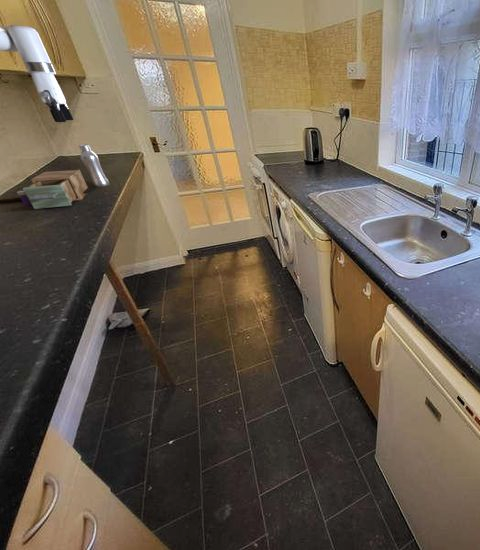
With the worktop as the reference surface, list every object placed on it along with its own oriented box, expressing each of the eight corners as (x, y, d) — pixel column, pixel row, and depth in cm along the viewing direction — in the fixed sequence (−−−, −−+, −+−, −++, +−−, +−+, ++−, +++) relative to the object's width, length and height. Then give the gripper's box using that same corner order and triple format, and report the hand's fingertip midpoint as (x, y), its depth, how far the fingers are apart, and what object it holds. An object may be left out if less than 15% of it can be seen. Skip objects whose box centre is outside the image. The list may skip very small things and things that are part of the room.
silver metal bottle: (96, 191, 143) (76, 146, 133) (94, 188, 147) (73, 145, 136) (113, 188, 147) (94, 145, 137) (109, 186, 151) (91, 143, 140)
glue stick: (23, 206, 123) (15, 192, 120) (26, 204, 125) (18, 190, 122) (33, 205, 124) (25, 191, 121) (35, 203, 126) (28, 190, 123)
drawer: (67, 208, 119) (56, 188, 114) (29, 212, 114) (16, 191, 110) (80, 196, 132) (70, 177, 128) (46, 199, 128) (35, 180, 123)
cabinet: (81, 199, 131) (70, 176, 126) (44, 203, 126) (30, 179, 121) (89, 191, 142) (79, 169, 137) (55, 194, 137) (43, 172, 132)
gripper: (36, 70, 114) (59, 119, 123) (16, 67, 101) (44, 123, 110) (61, 70, 117) (82, 119, 126) (45, 68, 104) (70, 122, 113)
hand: (65, 121), depth 118 cm, fingers open, 9 cm apart
